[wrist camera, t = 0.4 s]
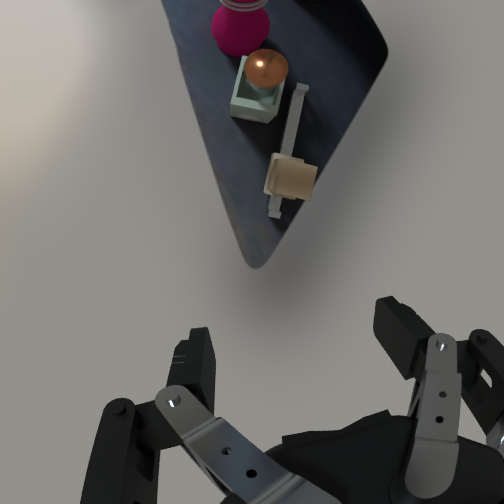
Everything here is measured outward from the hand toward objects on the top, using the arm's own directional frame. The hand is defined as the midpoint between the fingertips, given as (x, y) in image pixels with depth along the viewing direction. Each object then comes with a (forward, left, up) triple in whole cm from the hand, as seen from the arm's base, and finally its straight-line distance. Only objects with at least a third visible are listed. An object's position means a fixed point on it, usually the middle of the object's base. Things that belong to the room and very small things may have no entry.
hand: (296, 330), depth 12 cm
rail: (-10, +2, -27) cm, 29 cm away
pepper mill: (-25, -7, -27) cm, 37 cm away
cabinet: (-16, -3, -27) cm, 31 cm away
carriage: (-6, +2, -26) cm, 27 cm away
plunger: (-16, -3, -19) cm, 25 cm away
